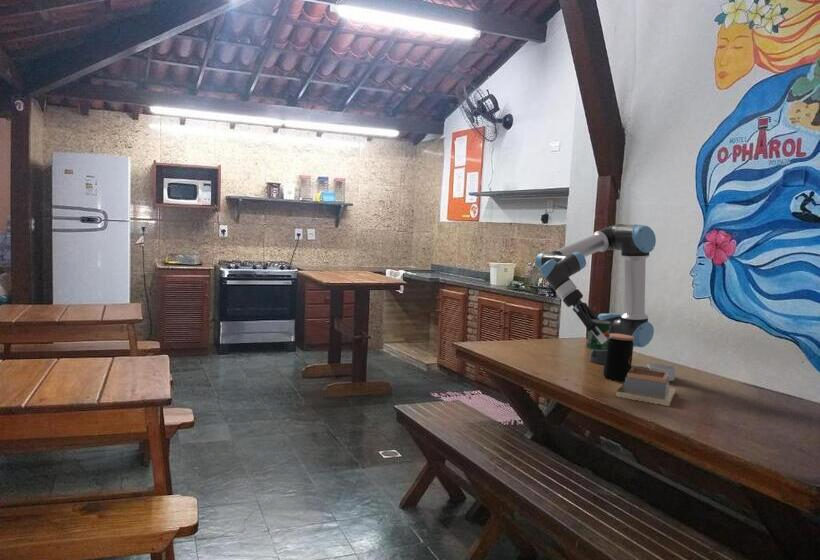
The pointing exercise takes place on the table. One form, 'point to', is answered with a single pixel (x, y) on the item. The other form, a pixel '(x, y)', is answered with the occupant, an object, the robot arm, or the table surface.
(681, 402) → the table surface
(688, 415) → the table surface
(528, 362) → the table surface
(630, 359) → the coffee jar
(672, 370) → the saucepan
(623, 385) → the grey rectangular box
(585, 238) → the robot arm
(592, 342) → the canned tomato
